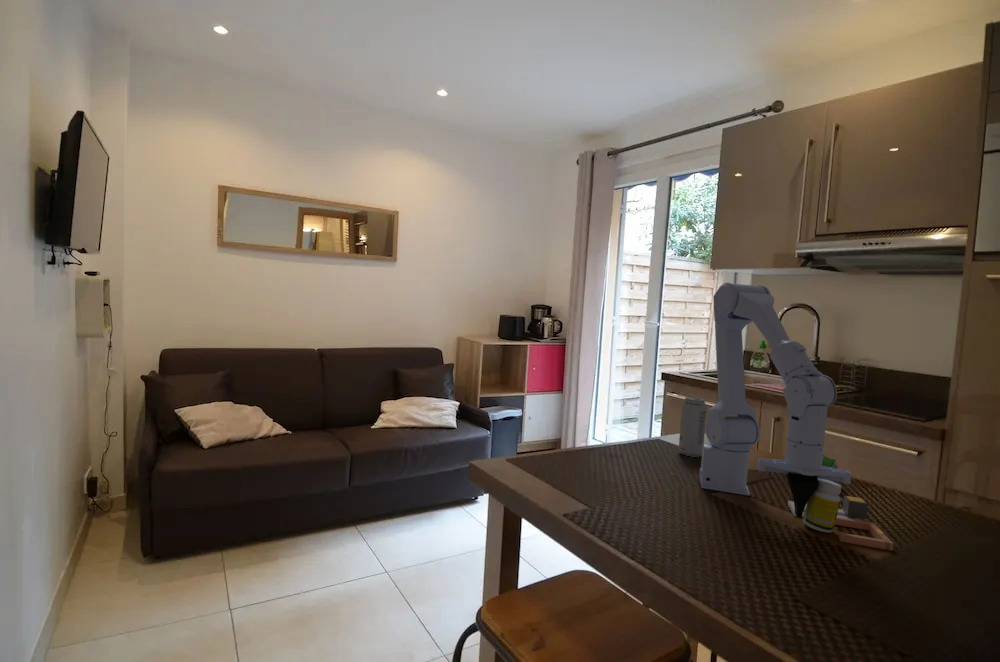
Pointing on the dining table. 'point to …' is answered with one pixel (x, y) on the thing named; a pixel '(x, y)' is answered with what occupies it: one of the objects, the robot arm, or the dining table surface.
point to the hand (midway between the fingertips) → (798, 515)
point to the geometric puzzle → (828, 462)
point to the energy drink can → (692, 426)
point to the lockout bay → (877, 542)
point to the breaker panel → (839, 514)
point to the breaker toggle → (855, 507)
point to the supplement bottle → (823, 506)
